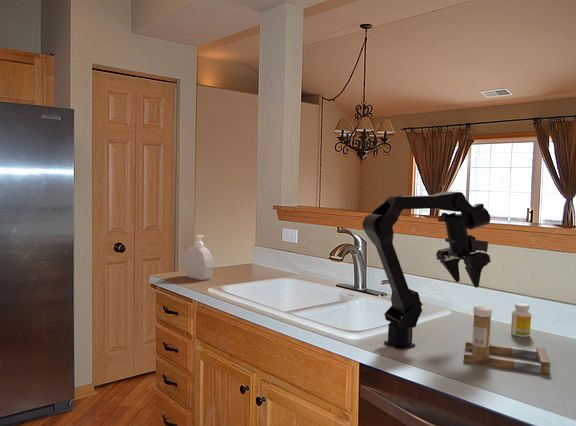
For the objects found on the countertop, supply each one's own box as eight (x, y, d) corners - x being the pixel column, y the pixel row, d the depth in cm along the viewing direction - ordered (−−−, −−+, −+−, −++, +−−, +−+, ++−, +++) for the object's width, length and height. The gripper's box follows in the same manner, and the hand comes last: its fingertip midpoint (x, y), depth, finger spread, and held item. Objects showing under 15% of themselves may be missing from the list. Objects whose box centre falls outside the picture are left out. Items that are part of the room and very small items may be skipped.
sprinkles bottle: (492, 357, 131) (495, 308, 130) (482, 361, 129) (485, 310, 128) (478, 352, 135) (480, 304, 134) (467, 355, 132) (470, 306, 132)
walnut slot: (463, 361, 128) (464, 350, 128) (465, 347, 139) (466, 337, 139) (549, 374, 120) (550, 362, 120) (544, 358, 131) (544, 347, 131)
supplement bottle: (507, 332, 154) (508, 302, 153) (520, 331, 156) (521, 301, 155) (520, 338, 149) (522, 307, 148) (534, 336, 151) (535, 306, 150)
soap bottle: (214, 279, 225) (214, 236, 223) (205, 281, 221) (205, 237, 219) (192, 274, 235) (193, 233, 234) (183, 276, 231) (183, 234, 230)
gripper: (501, 228, 136) (511, 282, 137) (462, 225, 154) (471, 272, 155) (467, 238, 133) (477, 293, 135) (431, 233, 151) (440, 281, 153)
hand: (467, 284), depth 144 cm, fingers open, 9 cm apart
